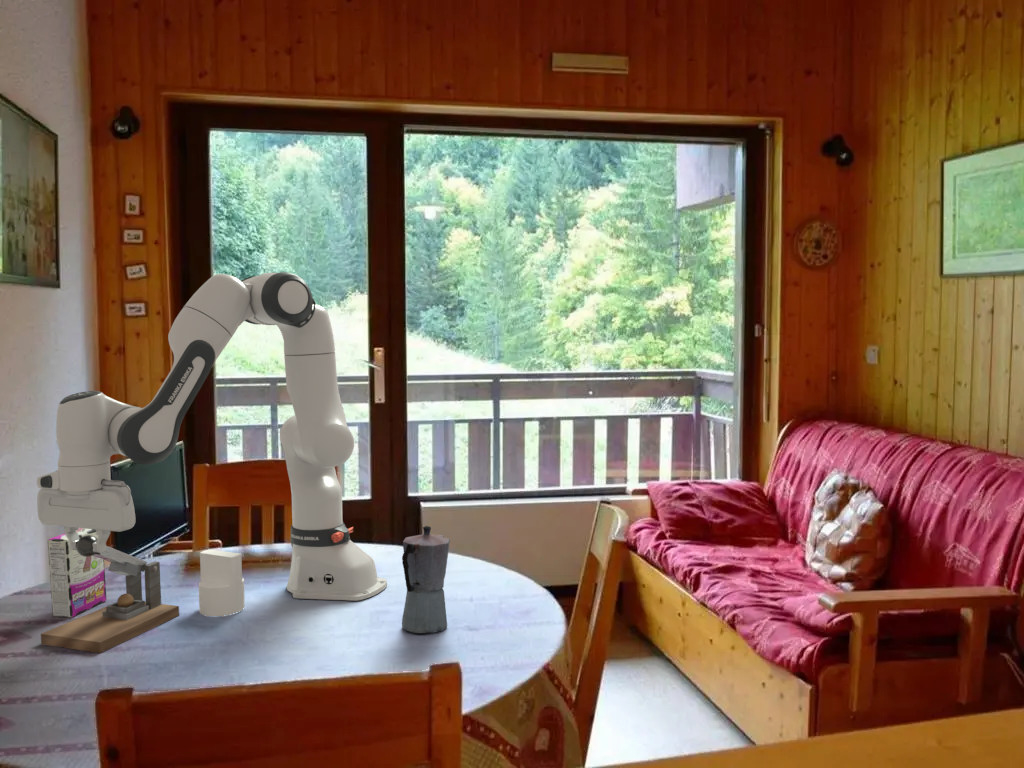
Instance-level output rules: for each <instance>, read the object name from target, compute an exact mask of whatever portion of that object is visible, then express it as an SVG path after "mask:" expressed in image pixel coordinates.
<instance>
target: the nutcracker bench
mask: <svg viewBox="0 0 1024 768" xmlns="http://www.w3.org/2000/svg"><path fill="white" fill-rule="evenodd" d="M160 567H161V565H160V561H152V562H150V563H147V564H146V565H144V591H145V595H144V597H145V600H143V587H142V586H143V585H142V583H143V582H142V571H138V573H137V576H136V577H135V576H126V575H125V590H126V591H125V594H130V595H132V597H133V599H134V603H133V605H132V606H129V607H127V608H124V607H119V606H118V603H117V601H116V602H114V603H112V604H109V605H106V606H103V607H102V608H99V609H97V610H95V611H92V612H90V613H87V614H84V615H83V616H79V617H78V618H75V619H73V620H71V621H68V622H65V623H63V624H62V625H58V626H56V627H54V628H52V629H49V630H47V631H43V632H42V633H40V644H41V645H45V646H50V647H51V646H52V647H57V646H58V648H63V647H64V648H65V649H71V650H77V651H83V652H84V651H86V652H90V653H98V654H101V653H104V652H107V651H108V650H111V648H114V647H116V646H119V645H120V644H122V643H124V642H127V641H129V640H131V639H133V638H136V637H137V636H139V635H142V634H143V633H146V632H148V631H149V630H152V629H154V628H157V627H158V626H161V625H162V624H164V623H167V622H169V621H170V620H173V619H175V618H177V617H179V616H180V606H179V605H172V604H166V603H165V604H164V603H162V591H161V590H162V589H161V568H160Z"/></svg>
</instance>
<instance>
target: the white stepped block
mask: <svg viewBox="0 0 1024 768" xmlns="http://www.w3.org/2000/svg"><path fill="white" fill-rule="evenodd" d="M199 562H200V563H199V565H200V581H199V582H198V604H199V611H198V612H199V613H201V614H202V616H204V615H206V616H205V617H208V616H222V617H225V616H224V615H229V616H231V615H230V614H233V613H236V612H239V611H241V610H243V608H244V607H246V606H245V605H246V603H245V602H246V601H245V598H246V597H245V579H244V577H243V569H242V568H243V567H242V566H243V565H242V564H243V563H242V553H238V552H233V551H232V552H231V551H226V550H225V551H224V550H218V549H211V548H209V549H206V550H203V551H201V552H199ZM244 609H245V608H244ZM243 611H244V610H243ZM241 612H242V611H241ZM239 613H240V612H239ZM201 614H200V615H201ZM236 614H237V613H236ZM233 615H234V614H233Z"/></svg>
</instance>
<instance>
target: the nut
mask: <svg viewBox="0 0 1024 768" xmlns="http://www.w3.org/2000/svg"><path fill="white" fill-rule="evenodd" d="M116 602H117V603H118V606H119V607H124V608H127V607H129V606H132V605H133V603H134V599H133V597H132V595H130V594H126V593H123V594H121V595H120V596H119V597H118V598H117V601H116Z"/></svg>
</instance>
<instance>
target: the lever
mask: <svg viewBox="0 0 1024 768" xmlns="http://www.w3.org/2000/svg"><path fill="white" fill-rule="evenodd" d="M96 541H97V538H96V537H94V536H91V535H87V536H83V537H82V538H80V539H79V540H78V542H77V544H76V549H77V552H78V553H79V554H80V555H82V556H84V557H90V556H95V557H98V558H101V559H103V560H104V561H106V562H109V567H108V569H107V571H109V572H112V573H114V574H117V575H119V576H125V577H126V576H135V577H136V576H137V573H138V571H141V573H142V572H144V573H145V571H144V565H147V564H148V561H146V560H143V559H140V558H138V557H136V556H134V555H131V554H128V553H126V552H123V551H121V550H118V549H116V548H113V547H111V546H108V545H106V550H105V551H104V552H101V553H98V552H93V545H92V543H95V542H96Z"/></svg>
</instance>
